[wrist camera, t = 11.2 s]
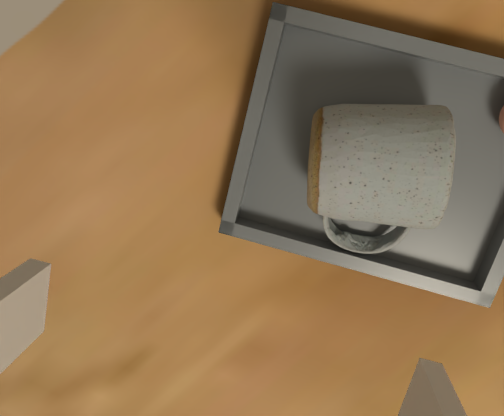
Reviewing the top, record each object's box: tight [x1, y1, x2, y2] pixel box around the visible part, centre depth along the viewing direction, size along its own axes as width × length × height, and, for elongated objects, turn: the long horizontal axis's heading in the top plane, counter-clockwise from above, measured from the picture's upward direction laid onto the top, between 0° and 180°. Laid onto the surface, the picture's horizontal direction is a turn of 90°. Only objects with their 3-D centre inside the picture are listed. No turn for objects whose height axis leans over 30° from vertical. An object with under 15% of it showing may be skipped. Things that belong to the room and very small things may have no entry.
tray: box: [219, 2, 504, 308], centre depth 33 cm, size 20×16×2 cm
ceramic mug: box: [307, 104, 456, 254], centre depth 30 cm, size 11×8×8 cm
